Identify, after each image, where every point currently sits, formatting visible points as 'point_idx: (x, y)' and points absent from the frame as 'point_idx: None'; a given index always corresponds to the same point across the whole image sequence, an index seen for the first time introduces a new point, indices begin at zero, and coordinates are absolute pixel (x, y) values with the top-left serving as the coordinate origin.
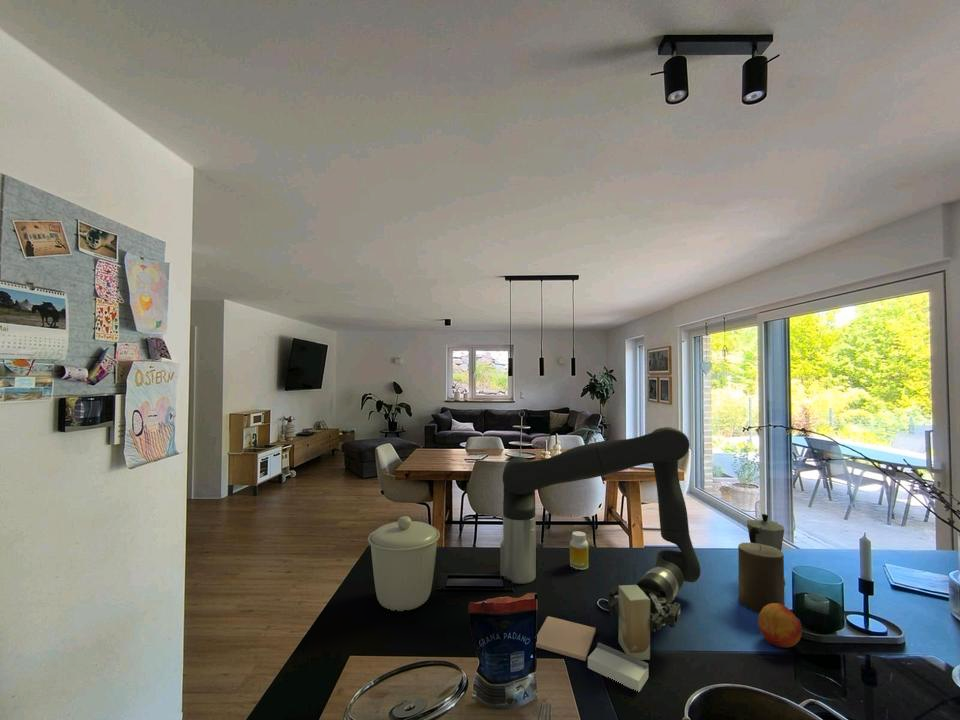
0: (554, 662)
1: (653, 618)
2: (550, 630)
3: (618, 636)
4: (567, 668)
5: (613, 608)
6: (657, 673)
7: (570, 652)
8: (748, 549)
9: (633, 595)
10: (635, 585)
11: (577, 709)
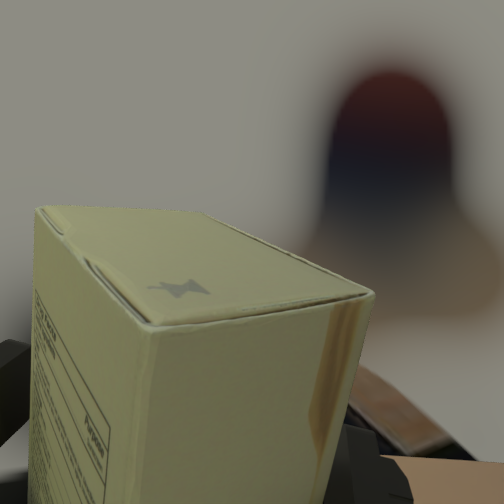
0: (412, 430)
1: (2, 356)
2: None
3: None
4: (363, 419)
5: (340, 448)
6: (21, 499)
7: (402, 458)
8: None
9: (186, 224)
10: (174, 302)
11: None
